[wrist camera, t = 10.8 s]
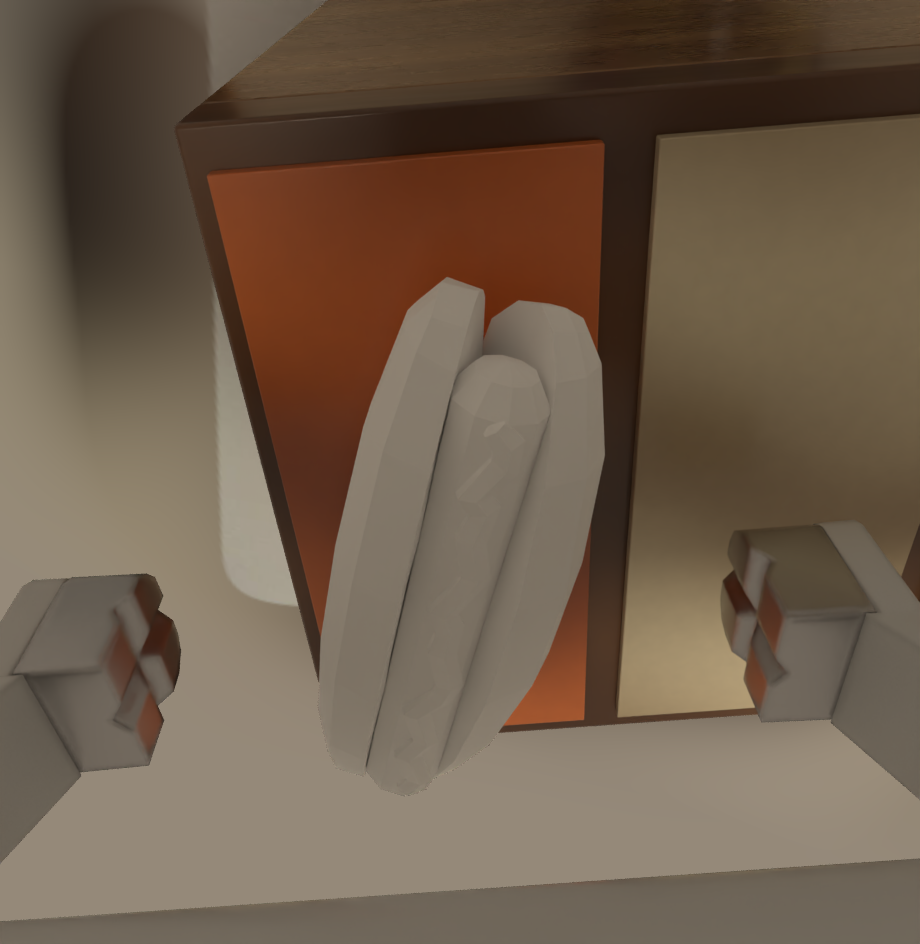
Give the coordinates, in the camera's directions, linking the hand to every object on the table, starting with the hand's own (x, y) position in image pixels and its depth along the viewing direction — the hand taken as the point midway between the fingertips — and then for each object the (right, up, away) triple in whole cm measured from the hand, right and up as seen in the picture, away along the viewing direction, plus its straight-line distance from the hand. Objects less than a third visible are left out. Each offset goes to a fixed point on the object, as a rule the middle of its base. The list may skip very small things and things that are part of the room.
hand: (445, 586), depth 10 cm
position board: (+5, +2, +2) cm, 6 cm away
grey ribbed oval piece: (0, +1, +1) cm, 2 cm away
